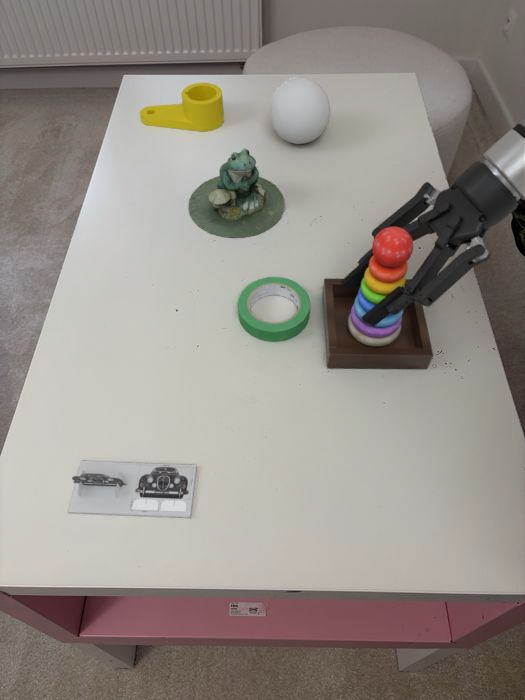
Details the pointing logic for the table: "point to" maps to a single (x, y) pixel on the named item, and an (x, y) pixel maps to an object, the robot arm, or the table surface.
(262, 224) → the frog figurine
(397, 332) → the stacking toy
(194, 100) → the crank
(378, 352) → the square tray
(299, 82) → the decorative ball
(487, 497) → the table surface
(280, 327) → the tape roll
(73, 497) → the car cutout
